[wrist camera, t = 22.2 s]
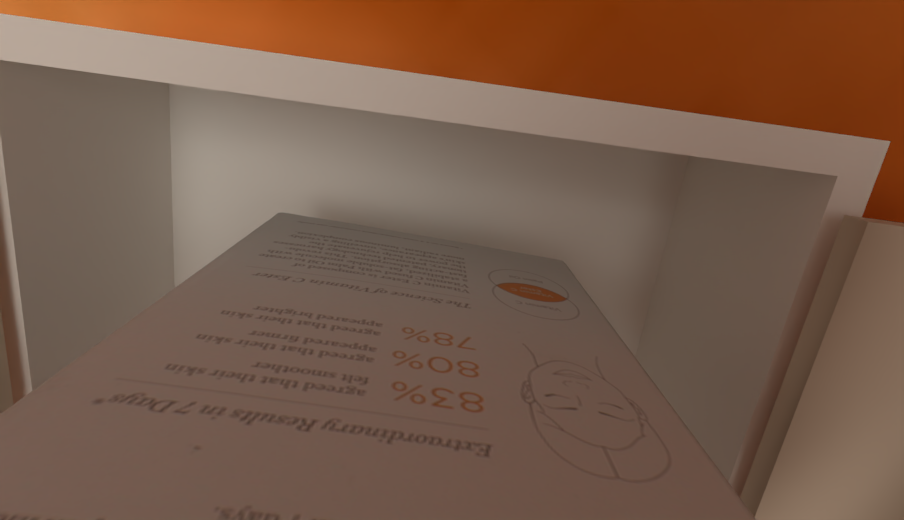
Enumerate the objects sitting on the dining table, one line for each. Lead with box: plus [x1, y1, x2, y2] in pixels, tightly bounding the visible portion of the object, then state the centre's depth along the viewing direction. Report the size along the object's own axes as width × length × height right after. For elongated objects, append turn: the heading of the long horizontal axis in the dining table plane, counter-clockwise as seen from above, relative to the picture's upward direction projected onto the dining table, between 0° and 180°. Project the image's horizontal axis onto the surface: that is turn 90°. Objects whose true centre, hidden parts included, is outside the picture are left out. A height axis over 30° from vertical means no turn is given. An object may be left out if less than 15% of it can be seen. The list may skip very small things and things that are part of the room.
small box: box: [0, 212, 756, 520], centre depth 9 cm, size 8×6×13 cm
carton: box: [0, 14, 891, 497], centre depth 15 cm, size 18×14×7 cm
